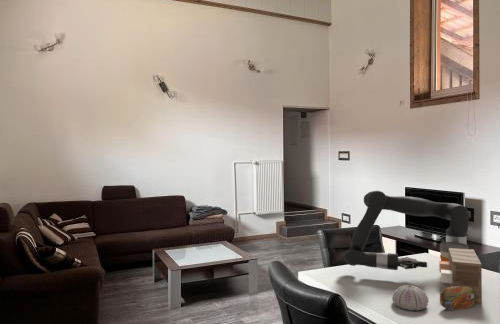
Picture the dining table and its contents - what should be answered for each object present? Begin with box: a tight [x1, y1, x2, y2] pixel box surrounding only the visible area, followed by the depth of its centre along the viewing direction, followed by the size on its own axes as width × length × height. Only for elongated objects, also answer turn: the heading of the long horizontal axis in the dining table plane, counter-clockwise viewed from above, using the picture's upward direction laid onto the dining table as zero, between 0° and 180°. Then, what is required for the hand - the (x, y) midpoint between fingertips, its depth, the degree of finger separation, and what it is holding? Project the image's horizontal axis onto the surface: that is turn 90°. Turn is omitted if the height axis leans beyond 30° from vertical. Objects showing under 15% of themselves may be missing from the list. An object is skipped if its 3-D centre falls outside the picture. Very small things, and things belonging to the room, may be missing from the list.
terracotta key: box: [438, 260, 450, 274], centre depth 176 cm, size 5×7×4 cm
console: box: [448, 248, 483, 305], centre depth 166 cm, size 24×10×16 cm, turn 157°
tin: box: [439, 285, 476, 312], centre depth 150 cm, size 15×3×8 cm, turn 105°
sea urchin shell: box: [391, 284, 429, 312], centre depth 153 cm, size 13×14×8 cm
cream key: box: [440, 270, 452, 284], centre depth 163 cm, size 5×7×4 cm
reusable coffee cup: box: [439, 241, 469, 262], centre depth 189 cm, size 13×13×15 cm
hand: (426, 264), depth 179 cm, fingers closed
